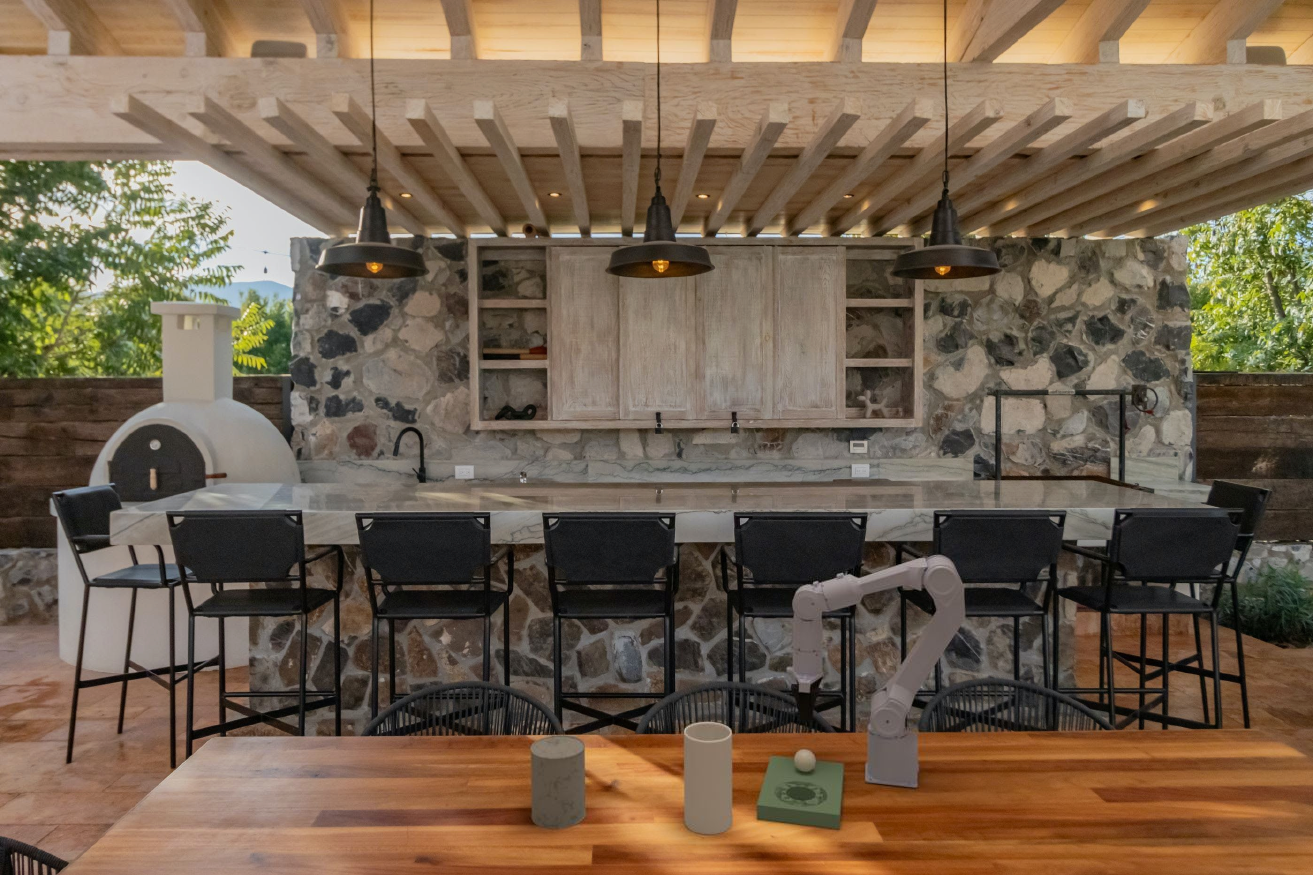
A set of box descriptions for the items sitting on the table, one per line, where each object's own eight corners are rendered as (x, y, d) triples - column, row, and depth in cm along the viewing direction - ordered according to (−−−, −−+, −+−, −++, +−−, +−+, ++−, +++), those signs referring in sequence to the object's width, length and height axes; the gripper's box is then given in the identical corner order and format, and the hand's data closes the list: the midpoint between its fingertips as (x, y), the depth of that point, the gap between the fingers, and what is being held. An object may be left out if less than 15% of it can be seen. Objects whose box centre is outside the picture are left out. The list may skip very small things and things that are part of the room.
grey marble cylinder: (594, 805, 147) (593, 738, 147) (571, 832, 138) (571, 761, 138) (546, 797, 151) (545, 732, 150) (521, 823, 142) (520, 753, 141)
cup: (729, 836, 137) (729, 742, 136) (680, 831, 139) (680, 739, 138) (734, 812, 145) (734, 723, 144) (688, 807, 147) (688, 719, 146)
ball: (816, 767, 156) (816, 746, 156) (814, 776, 153) (815, 755, 152) (795, 764, 158) (795, 744, 157) (793, 774, 154) (793, 753, 153)
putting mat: (771, 767, 162) (771, 755, 162) (843, 775, 158) (843, 763, 158) (756, 818, 143) (756, 804, 142) (839, 829, 139) (839, 814, 139)
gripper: (790, 635, 169) (790, 700, 170) (783, 657, 155) (782, 727, 156) (825, 638, 167) (824, 703, 168) (821, 660, 153) (820, 731, 154)
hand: (806, 715), depth 161 cm, fingers open, 5 cm apart
